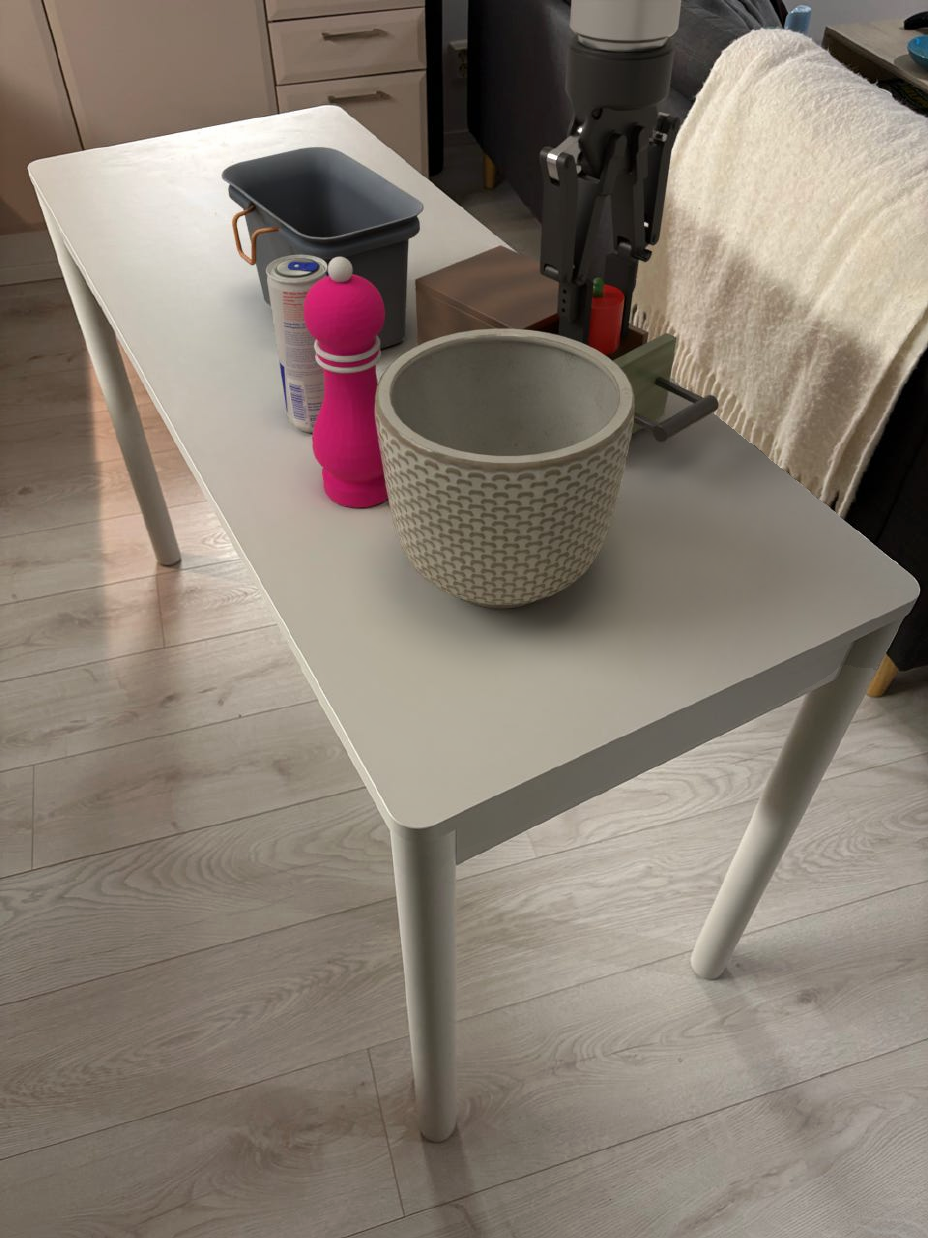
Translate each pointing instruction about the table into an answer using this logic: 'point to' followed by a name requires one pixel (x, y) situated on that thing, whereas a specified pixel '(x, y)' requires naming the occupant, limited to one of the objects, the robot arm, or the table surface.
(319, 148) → the storage bin
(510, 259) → the cabinet
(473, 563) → the planter
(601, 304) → the pepper
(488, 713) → the table surface
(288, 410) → the beverage can
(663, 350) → the drawer
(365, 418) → the pepper mill
